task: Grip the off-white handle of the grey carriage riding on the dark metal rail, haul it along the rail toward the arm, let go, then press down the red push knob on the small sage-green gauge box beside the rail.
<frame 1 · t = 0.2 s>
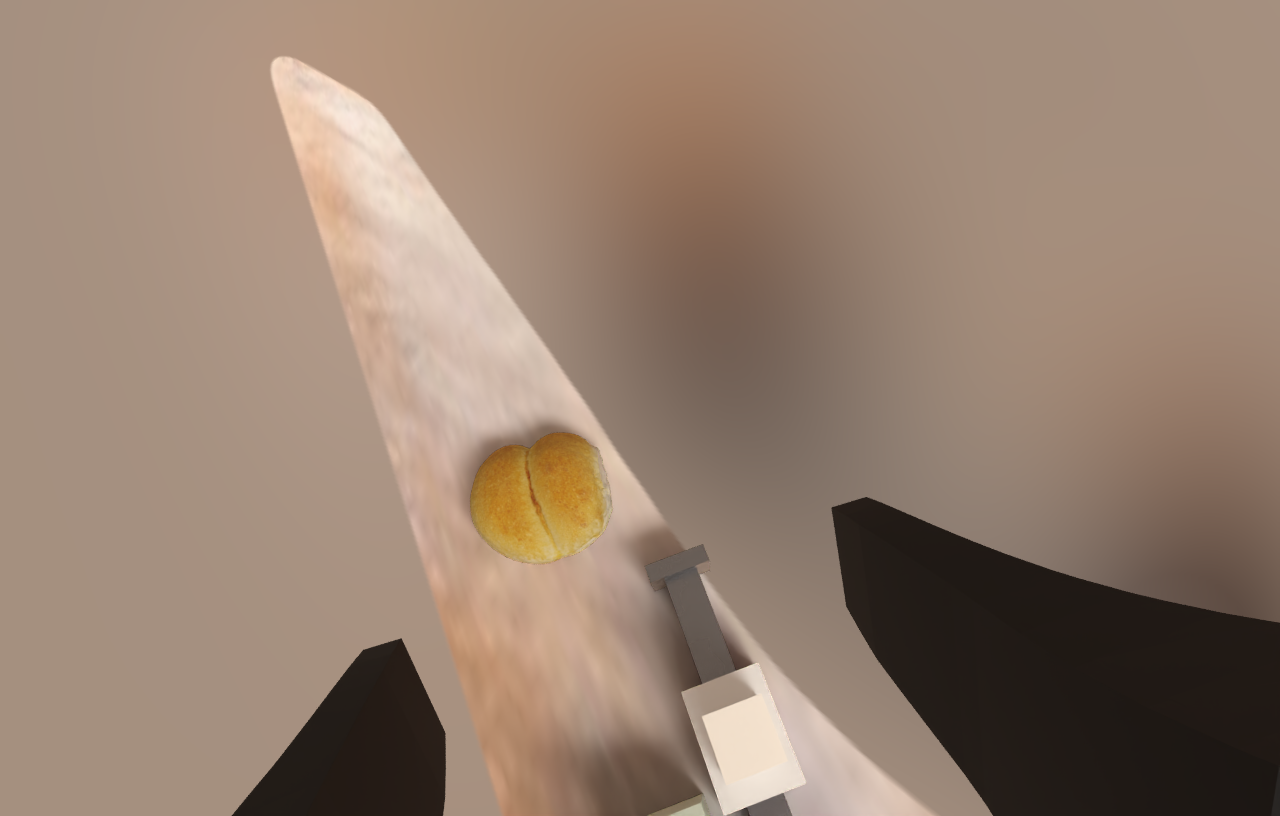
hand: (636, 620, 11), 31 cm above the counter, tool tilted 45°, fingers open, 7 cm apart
carriage: (741, 736, 35), point 4 cm above the counter, slide at 9.0 cm
rail: (754, 773, 37), on the counter
bread roll: (548, 501, 45), on the counter
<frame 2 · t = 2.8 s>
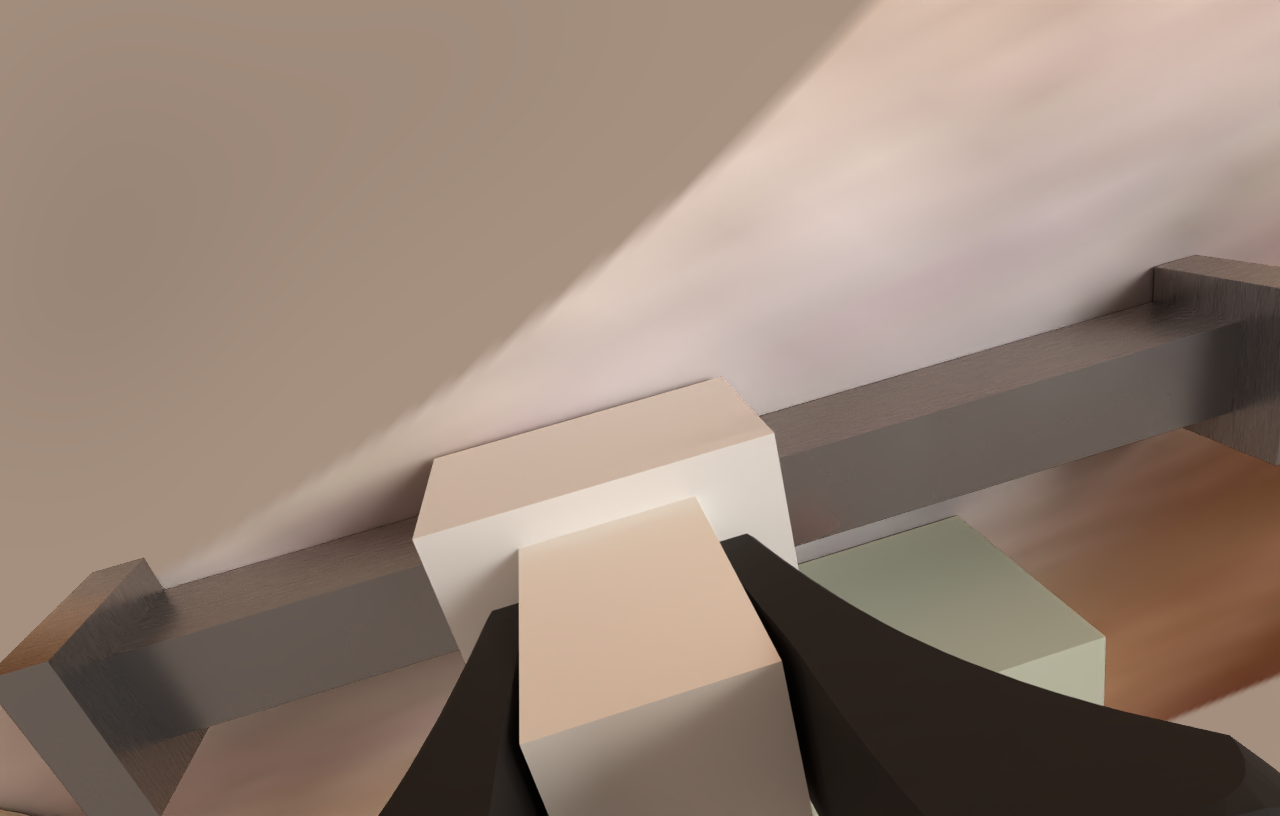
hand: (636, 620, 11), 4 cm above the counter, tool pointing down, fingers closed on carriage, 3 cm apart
carriage: (633, 611, 11), point 4 cm above the counter, slide at 9.0 cm, touching gripper
rail: (694, 478, 15), on the counter
gauge box: (854, 648, 17), on the counter
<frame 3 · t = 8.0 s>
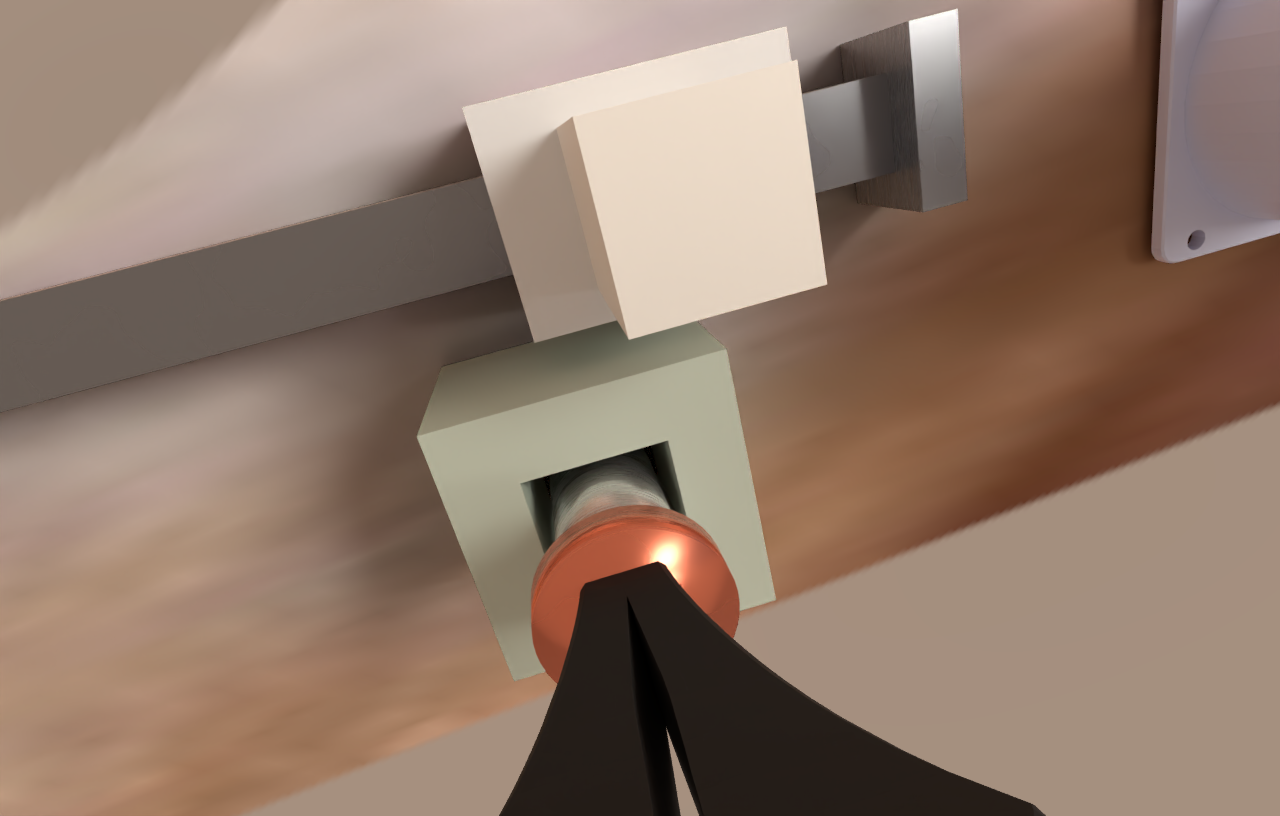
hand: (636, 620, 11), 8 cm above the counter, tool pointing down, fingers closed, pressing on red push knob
carriage: (659, 193, 13), point 4 cm above the counter, slide at 1.5 cm
rail: (397, 245, 16), on the counter
red push knob: (616, 537, 14), point 5 cm above the counter, slide at 0.2 cm, touching gripper
gauge box: (591, 440, 18), on the counter
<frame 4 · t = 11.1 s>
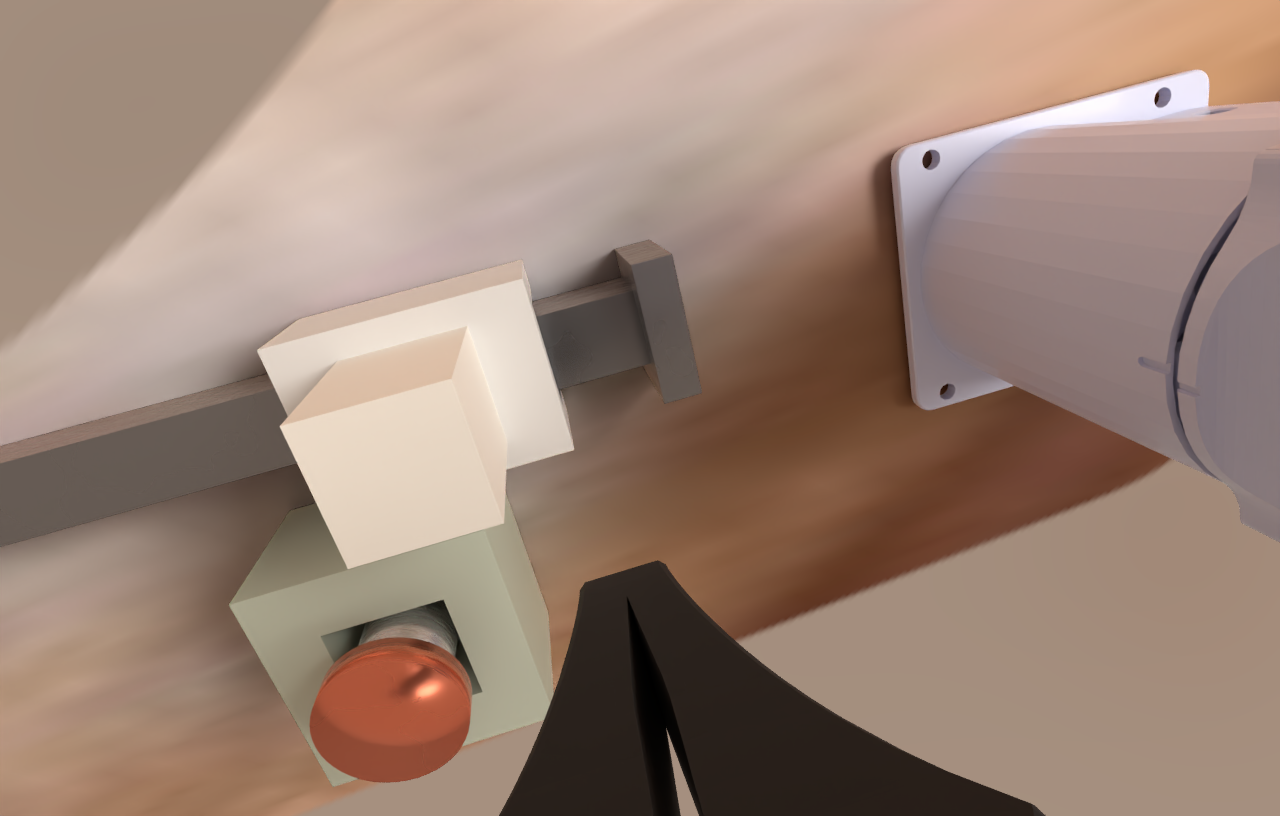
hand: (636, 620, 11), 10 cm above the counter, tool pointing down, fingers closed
carriage: (423, 409, 16), point 4 cm above the counter, slide at 1.5 cm
rail: (243, 418, 19), on the counter
red push knob: (409, 645, 18), point 4 cm above the counter, slide at 1.4 cm
gauge box: (427, 565, 21), on the counter
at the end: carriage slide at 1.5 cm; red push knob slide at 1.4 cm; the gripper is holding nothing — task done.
